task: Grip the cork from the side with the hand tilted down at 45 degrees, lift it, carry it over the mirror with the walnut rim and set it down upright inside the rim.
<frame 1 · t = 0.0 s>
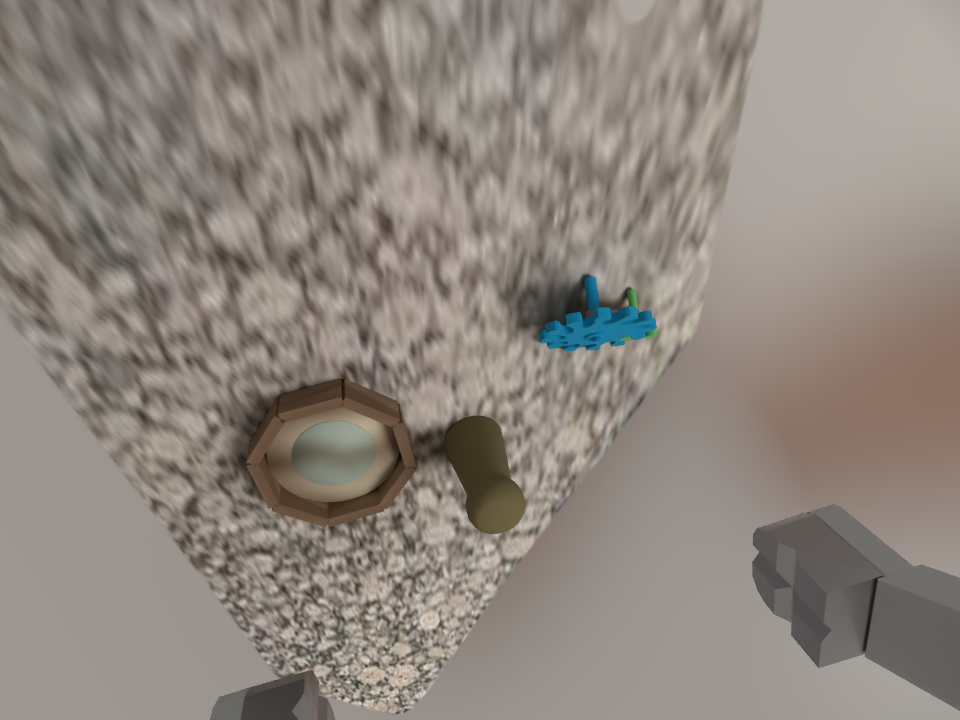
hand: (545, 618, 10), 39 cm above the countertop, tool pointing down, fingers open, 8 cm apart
gear: (585, 311, 54), on the countertop
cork: (472, 439, 58), on the countertop
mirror: (334, 445, 54), on the countertop
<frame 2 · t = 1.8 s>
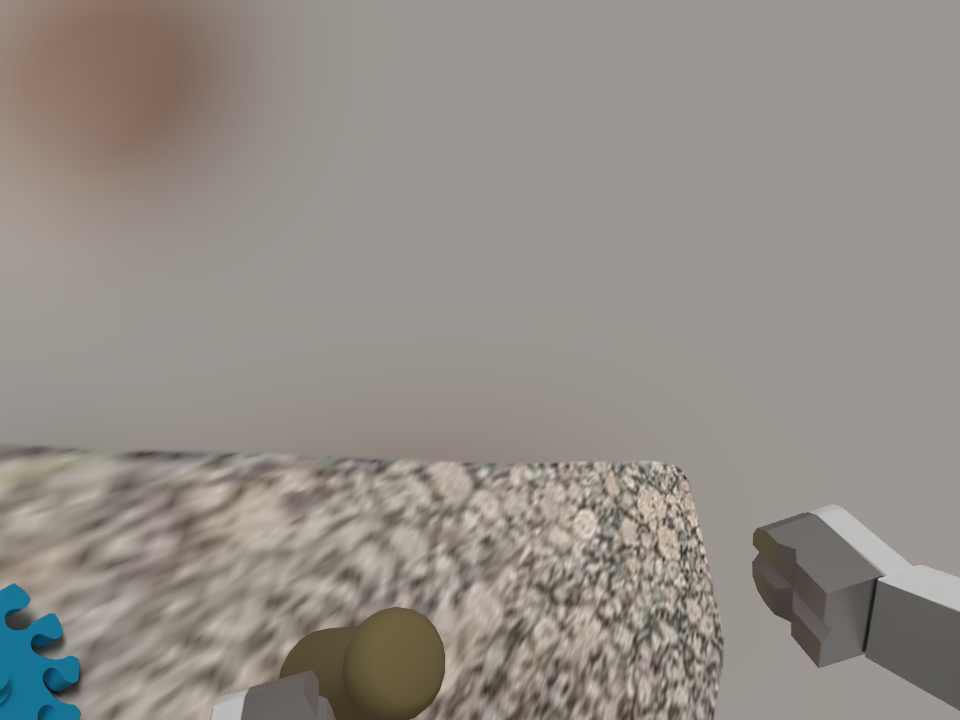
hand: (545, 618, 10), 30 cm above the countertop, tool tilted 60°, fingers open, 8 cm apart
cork: (325, 682, 35), on the countertop
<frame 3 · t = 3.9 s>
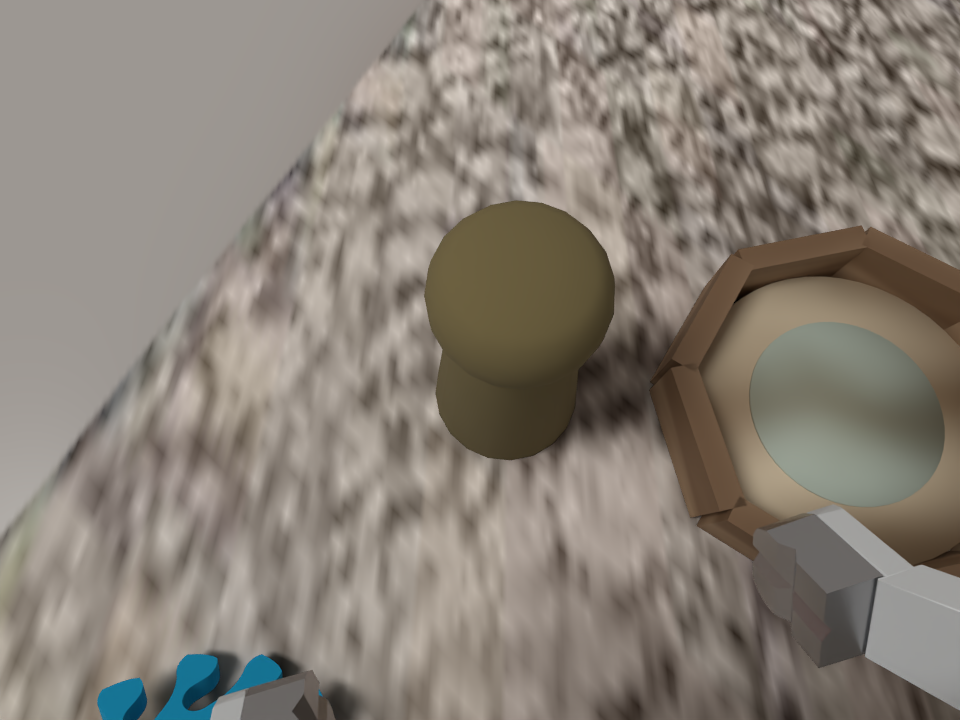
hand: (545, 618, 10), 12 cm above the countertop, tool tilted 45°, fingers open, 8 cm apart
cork: (505, 391, 25), on the countertop
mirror: (827, 417, 24), on the countertop
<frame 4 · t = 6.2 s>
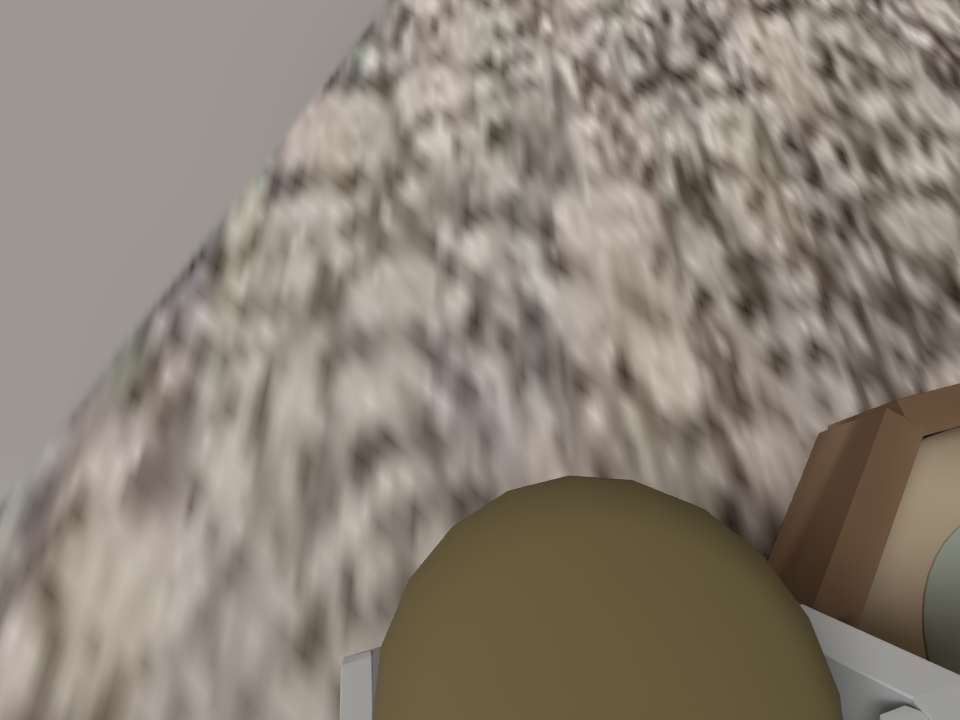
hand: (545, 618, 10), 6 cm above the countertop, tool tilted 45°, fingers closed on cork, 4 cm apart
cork: (527, 620, 16), on the countertop, touching gripper
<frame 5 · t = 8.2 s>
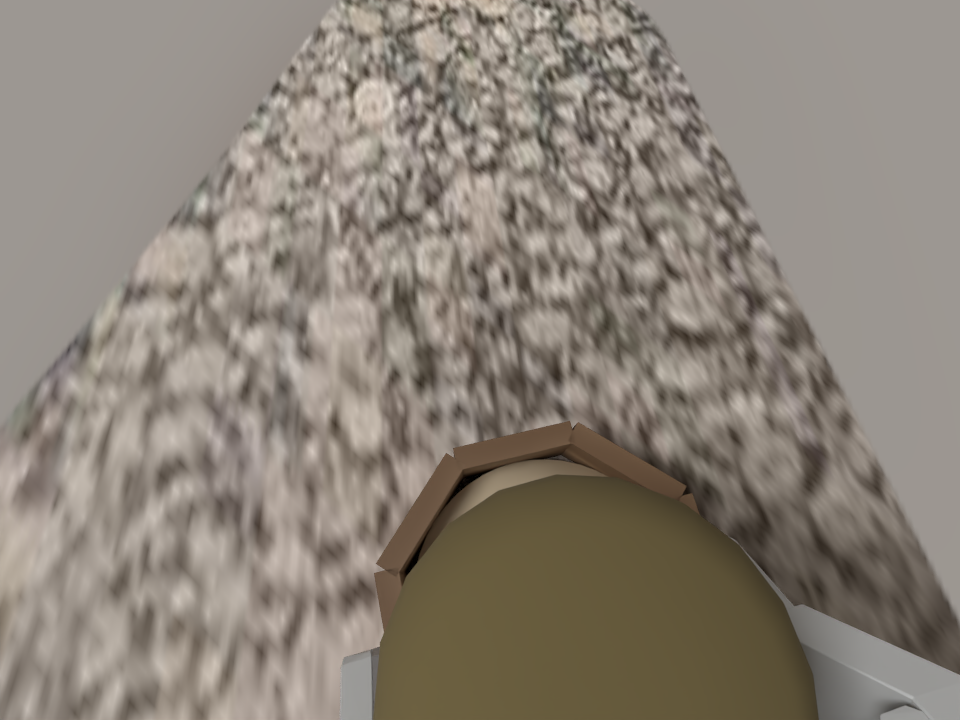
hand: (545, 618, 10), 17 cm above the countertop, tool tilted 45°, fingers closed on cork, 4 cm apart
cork: (524, 615, 16), point 11 cm above the countertop, touching gripper
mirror: (545, 594, 26), on the countertop
when the fingers open (8 cm above the countertop, at t = 10.6 s): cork stays where it is, resting on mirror.
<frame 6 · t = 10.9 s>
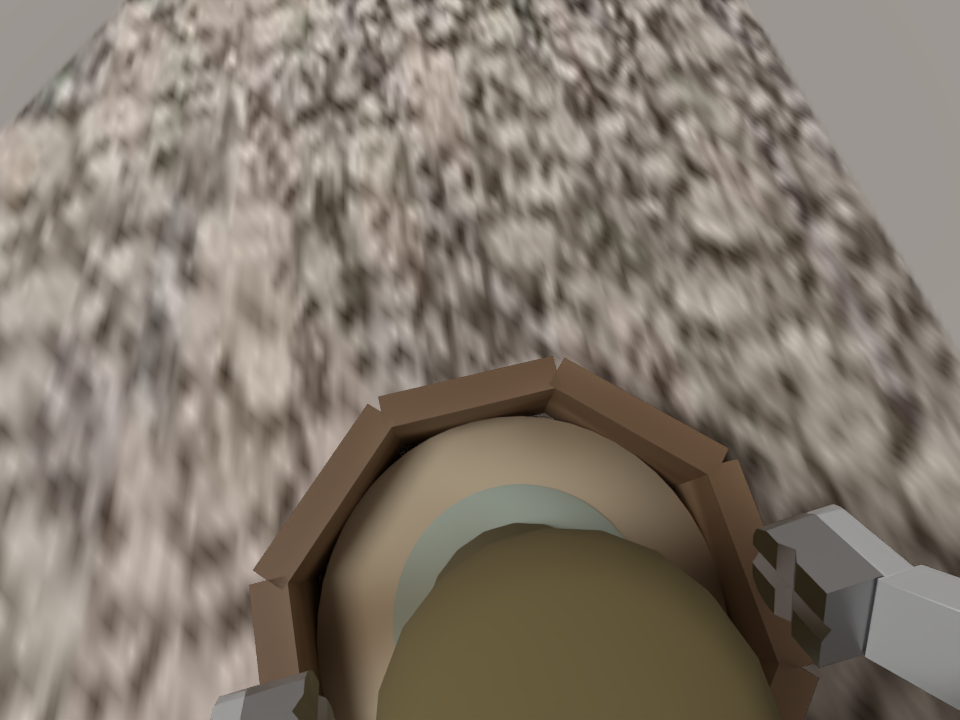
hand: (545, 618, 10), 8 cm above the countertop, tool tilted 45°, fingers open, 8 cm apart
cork: (527, 630, 17), point 1 cm above the countertop, touching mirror
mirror: (520, 612, 18), on the countertop
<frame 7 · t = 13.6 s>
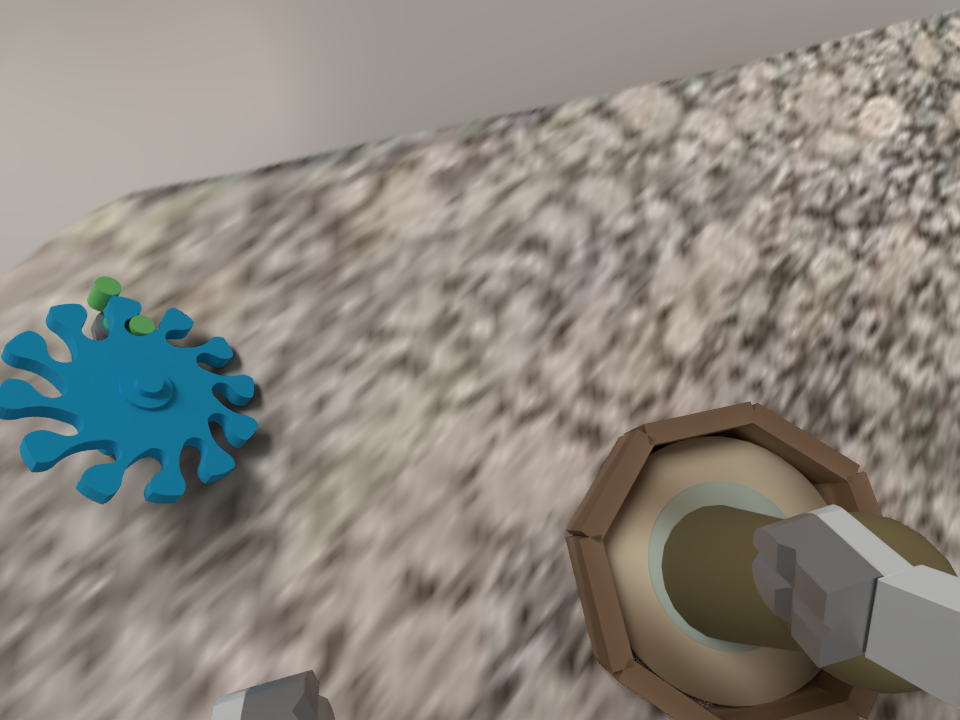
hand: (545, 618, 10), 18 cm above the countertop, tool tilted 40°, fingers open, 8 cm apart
gear: (178, 402, 29), on the countertop
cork: (722, 570, 27), point 1 cm above the countertop, touching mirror
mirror: (715, 561, 28), on the countertop
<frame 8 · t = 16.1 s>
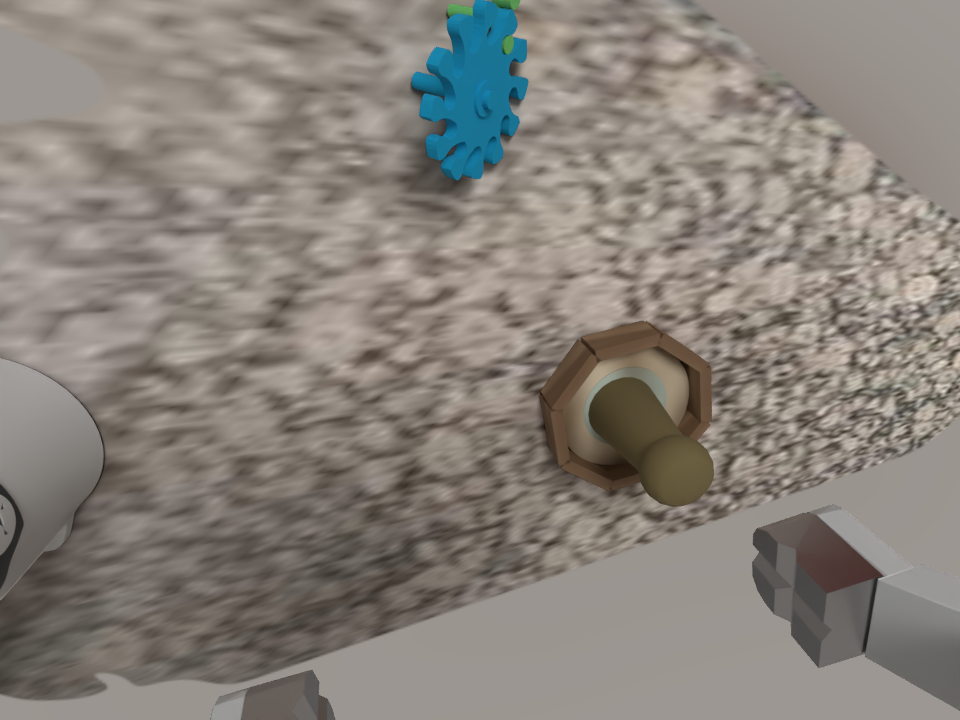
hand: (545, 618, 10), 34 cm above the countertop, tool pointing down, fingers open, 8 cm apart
gear: (468, 88, 38), on the countertop
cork: (620, 407, 49), point 1 cm above the countertop, touching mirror
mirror: (619, 400, 50), on the countertop
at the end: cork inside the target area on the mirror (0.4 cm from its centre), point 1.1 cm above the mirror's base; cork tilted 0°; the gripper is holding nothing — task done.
